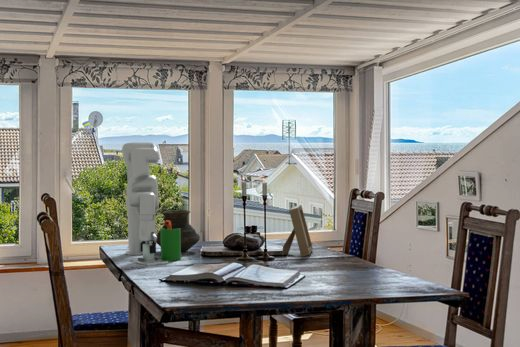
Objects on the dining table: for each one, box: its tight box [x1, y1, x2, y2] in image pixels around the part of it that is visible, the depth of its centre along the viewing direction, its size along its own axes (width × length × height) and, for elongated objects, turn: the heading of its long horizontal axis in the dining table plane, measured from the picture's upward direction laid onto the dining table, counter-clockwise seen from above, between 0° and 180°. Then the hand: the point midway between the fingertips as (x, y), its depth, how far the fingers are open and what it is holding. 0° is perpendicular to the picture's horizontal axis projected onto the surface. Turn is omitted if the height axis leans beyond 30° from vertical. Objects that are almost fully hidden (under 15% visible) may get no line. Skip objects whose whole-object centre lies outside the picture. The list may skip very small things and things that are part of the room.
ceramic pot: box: [156, 209, 201, 254], centre depth 372 cm, size 24×24×22 cm
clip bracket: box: [128, 255, 169, 267], centre depth 338 cm, size 20×11×2 cm, turn 37°
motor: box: [159, 220, 182, 262], centre depth 346 cm, size 10×9×20 cm
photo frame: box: [281, 204, 313, 258], centre depth 360 cm, size 15×22×25 cm
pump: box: [142, 241, 155, 261], centre depth 338 cm, size 6×6×10 cm
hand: (148, 252), depth 338 cm, fingers open, 9 cm apart
